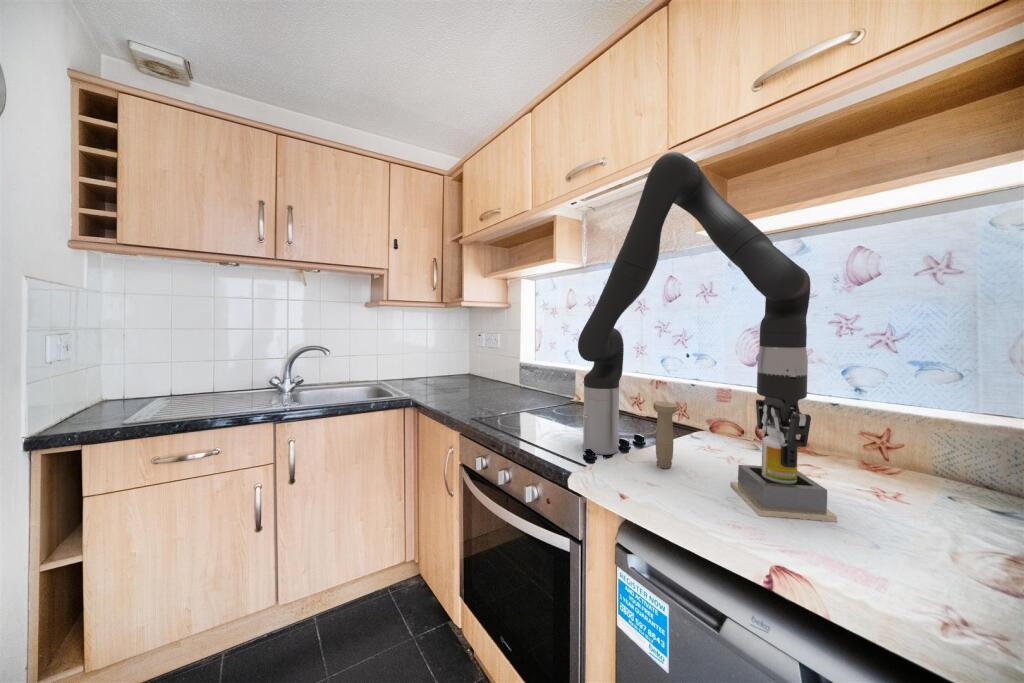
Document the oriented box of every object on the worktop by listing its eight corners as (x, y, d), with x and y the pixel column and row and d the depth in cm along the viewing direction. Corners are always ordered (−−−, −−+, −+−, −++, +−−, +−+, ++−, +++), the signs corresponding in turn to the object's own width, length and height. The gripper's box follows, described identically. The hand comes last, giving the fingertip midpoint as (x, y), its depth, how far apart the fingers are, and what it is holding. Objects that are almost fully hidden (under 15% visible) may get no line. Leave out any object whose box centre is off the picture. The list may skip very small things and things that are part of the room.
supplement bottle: (804, 485, 65) (805, 431, 65) (772, 484, 66) (774, 431, 66) (784, 473, 71) (785, 424, 70) (755, 472, 71) (756, 423, 71)
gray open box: (759, 515, 64) (760, 487, 63) (730, 486, 75) (730, 462, 75) (837, 521, 62) (838, 493, 61) (794, 490, 73) (795, 466, 73)
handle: (670, 462, 89) (671, 401, 89) (679, 472, 83) (680, 407, 82) (649, 461, 90) (650, 401, 89) (657, 471, 83) (658, 406, 83)
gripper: (742, 366, 75) (740, 447, 76) (780, 375, 61) (778, 474, 62) (782, 367, 74) (780, 449, 75) (831, 376, 60) (828, 477, 61)
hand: (779, 460), depth 68 cm, fingers closed on supplement bottle, 5 cm apart
